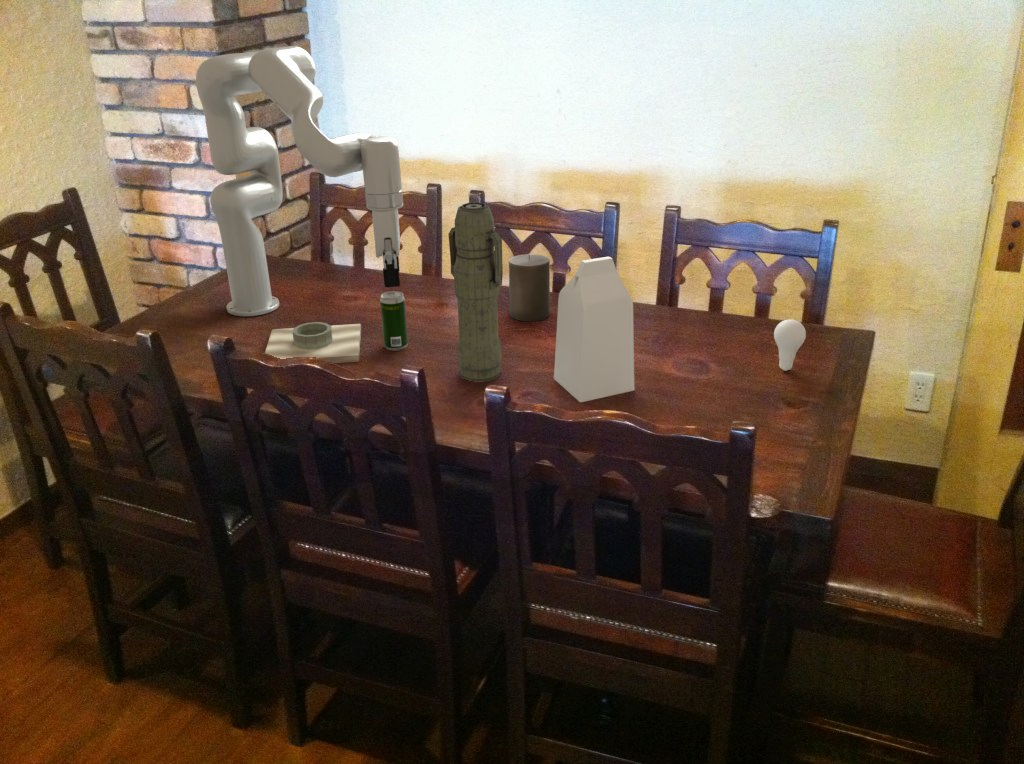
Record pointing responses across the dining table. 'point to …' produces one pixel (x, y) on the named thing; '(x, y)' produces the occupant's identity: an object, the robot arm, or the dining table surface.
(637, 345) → the dining table surface
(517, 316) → the pillar candle
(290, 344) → the carrier plate
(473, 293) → the thermos
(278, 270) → the dining table surface
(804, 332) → the lightbulb
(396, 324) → the beer can
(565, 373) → the milk
